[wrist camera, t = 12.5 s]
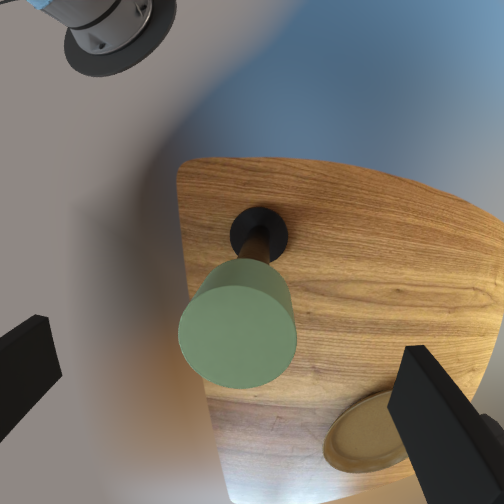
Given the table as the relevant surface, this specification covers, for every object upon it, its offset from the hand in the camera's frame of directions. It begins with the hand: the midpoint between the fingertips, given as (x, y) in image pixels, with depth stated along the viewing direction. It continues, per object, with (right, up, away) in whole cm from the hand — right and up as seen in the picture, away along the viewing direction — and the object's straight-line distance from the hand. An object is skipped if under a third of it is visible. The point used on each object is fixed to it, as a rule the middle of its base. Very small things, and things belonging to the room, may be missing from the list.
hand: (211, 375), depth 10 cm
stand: (+2, +7, +35) cm, 35 cm away
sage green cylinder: (+1, +1, +9) cm, 9 cm away
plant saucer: (+27, -30, +41) cm, 58 cm away
